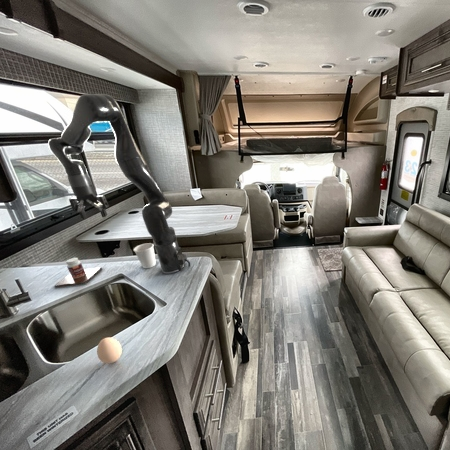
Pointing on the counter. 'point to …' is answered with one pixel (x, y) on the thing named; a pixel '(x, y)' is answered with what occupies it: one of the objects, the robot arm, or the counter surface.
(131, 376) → the counter surface
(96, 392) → the counter surface
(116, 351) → the egg
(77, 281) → the mat
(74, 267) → the pill bottle
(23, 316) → the counter surface
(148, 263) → the dixie cup
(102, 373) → the counter surface
